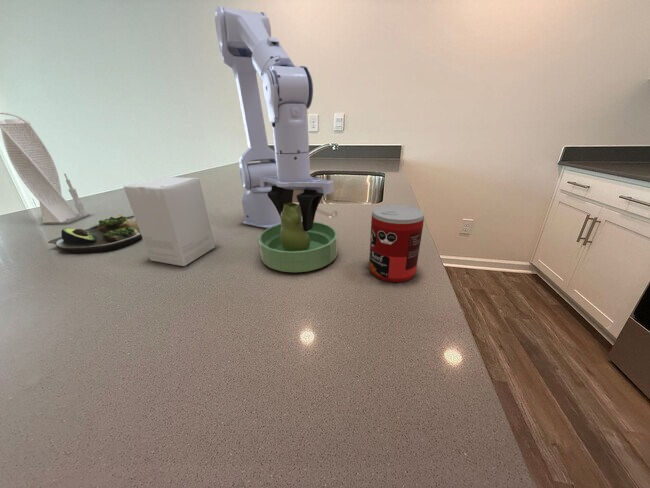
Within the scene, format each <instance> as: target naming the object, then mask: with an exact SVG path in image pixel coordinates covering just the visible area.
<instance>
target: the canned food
mask: <svg viewBox="0 0 650 488" xmlns="http://www.w3.org/2000/svg"><path fill="white" fill-rule="evenodd" d="M424 220H425V212H424V211H423V210H422V209H420V208H417V207H415V206H410V205H405V204H383V205H379V206H376V207H374V208H373V209H372V211H371V220H370V221H371V223H370V239H369V258H368V259H369V260H368V263H369V264H368V265H369V270H370V273H371V274H372V275H373V276H374V277H375V278H377V279H379V280H381V281H385V282H391V283H403V282H406V281H409V280H411V279H412V278H413V277H414V276H415V274H416V271H417V267H418V262H419V261H418V260H419V256H420V248H421V241H422V235H423V228H424V223H425V222H424Z"/></svg>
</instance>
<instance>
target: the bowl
mask: <svg viewBox="0 0 650 488" xmlns="http://www.w3.org/2000/svg"><path fill="white" fill-rule="evenodd" d="M301 223H302V225H303V222H302V220H301ZM281 225H282V223H281V224H278V225H275V226H272V227H270V228H268V229H267V228H265V229H264V230H263V231H262V232H261V233H259V236H258V248H259V254H260V259H261V261H262V263H263V264H264V265H265V266H267V267H268V268H270V269H272V270H276V271H279V272H284V273H303V272H304V273H305V272H311V271H314V270H315V271H316V270H319V269H322V268H324V267H325V266H328V265H330V264H331V263H332V262H333V261H335V260H336V258H337V256H338V252H339V234H338V231H337V230H336V228H335V227H333V226H331V225H329V224H326V223H324V222H320V221H314V222H313V228H312V229H310V230H309V231H306V232H307V233H308V235H309V238H310V246H309V249H308V250H305V251H284V249H283V247H282V244H281Z"/></svg>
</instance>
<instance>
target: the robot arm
mask: <svg viewBox="0 0 650 488" xmlns="http://www.w3.org/2000/svg"><path fill="white" fill-rule="evenodd" d="M270 21H271V20H270V19H269V17H268V15H267V13H266V12H264V11H261V12H259V11H252V10H245V9H238V8H232V7H225V6H222V5H220V4H218V5H217V6H216V8H215V9H214V23H215V30H216V38H217V42H218V49H219V52H220V56H221V58H222V62H223V64H225V65H226V66H228V67H229V68H231V71H232V74H233V76H234V80H235V85H236V88H237V95H238V100H239V105H240V111H241V116H242V122H243V127H244V133H245V137H246V145H247V149H246V151H244V152H243V153H242V154H241V156H239V159H238V165H239V175H240V181H241V184H242V187H243V188H244V189H245V190H244V191H243V193H242V194H241V205H242V210H243V216H244V221H242V224H244V225H248V226H253V227H258V228H262V229H268V228H270V227H272V226H275V225H278V224H281V218H280V216H281V212H282V210H283V208H284V204H287V203H293V198H294V192H295V191H301V193H298V194H297V195H296V199H297V202H298V204H299V205H300V208H301V213H302V218H301V221H302V222H303V229H304V230H305V231H309V230H310V229H312V228H313V222H315V217H316V213H317V210H318V208H319V204H320V202H321V200H322V198H323V196H324V195H328V196H330V194H332V193H334V191H335V189H334V183H335V181H334V180H329V179H324V178H319V177H313V176H311V164H310V163H311V161H310V141H309V121H308V120H309V119H308V109H310V107H311V106H312V103H313V99H314V83H313V77H312V74H311V71H310V70H309V67H308V66H306V65H300V66H298V65H296V64H295V63H294V61H293V60H292V59H291V57H290V56H289V55H288V53H287V51H286V50H285V49H284V47H283V46H282V44H281V43H280V40H279V39H278V38H277V37H272V27H271V22H270ZM258 77H259V79H260V81H261V82H262V93H263V98H264V102H265V106H266V110H267V117H268V121H269V123H271V128H272V137H273V147H274V149H272V148H271V147H270V146H269V143H268V137H267V131H266V125H265V118H264V113H263V107H262V101H261V94H260V89H259V83H258Z"/></svg>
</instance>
